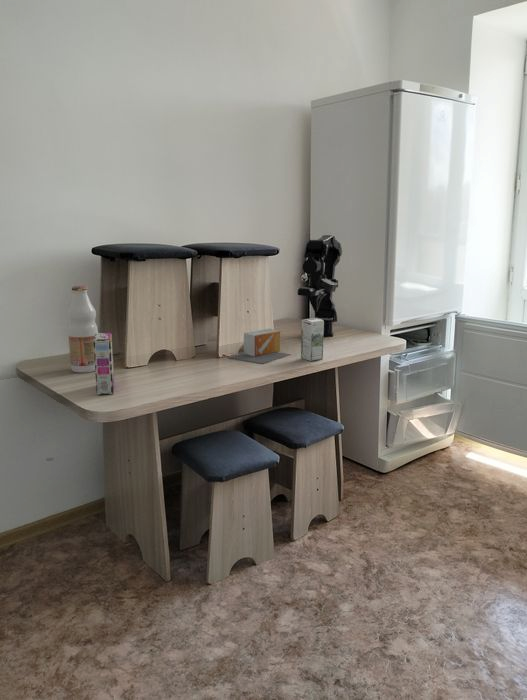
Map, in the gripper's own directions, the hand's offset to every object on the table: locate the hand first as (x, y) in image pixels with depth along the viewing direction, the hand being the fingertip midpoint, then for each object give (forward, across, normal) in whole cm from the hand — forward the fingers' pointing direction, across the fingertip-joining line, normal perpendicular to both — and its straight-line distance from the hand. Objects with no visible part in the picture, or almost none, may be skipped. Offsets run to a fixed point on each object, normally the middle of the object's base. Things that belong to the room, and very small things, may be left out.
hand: (315, 311), depth 228 cm
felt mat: (+13, -31, +5) cm, 34 cm away
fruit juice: (+13, -80, +41) cm, 91 cm away
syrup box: (+13, -24, -13) cm, 30 cm away
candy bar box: (+13, -91, +16) cm, 94 cm away
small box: (+9, -21, +5) cm, 23 cm away
